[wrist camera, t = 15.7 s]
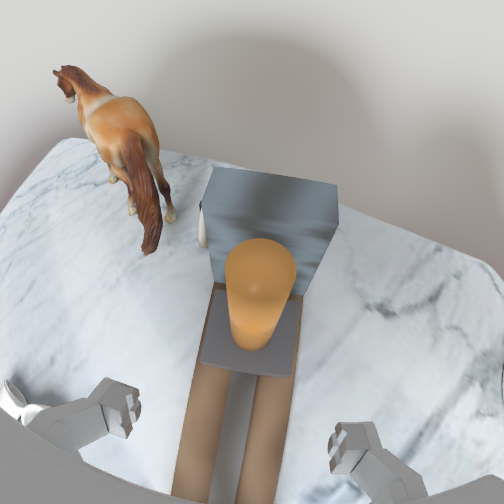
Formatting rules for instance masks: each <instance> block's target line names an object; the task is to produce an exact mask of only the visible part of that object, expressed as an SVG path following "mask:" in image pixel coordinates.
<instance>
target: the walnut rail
mask: <svg viewBox="0 0 504 504" xmlns="http://www.w3.org/2000/svg"><path fill="white" fill-rule="evenodd" d="M199 207H200V217H199V225H198V242H199V246H200V247H201V248H206V249H209V255H210V261H211V266H212V272H213V277H214V285H213V289H212V294H211V298H210V302H209V307H208V311H207V315H206V320H205V324H204V328H203V333H202V337H201V342H200V346H199V351H198V356H197V360H196V365H195V370H194V374H193V379H192V384H191V389H190V394H189V399H188V404H187V409H186V414H185V419H184V424H183V429H182V434H181V440H180V445H179V451H178V456H177V462H176V467H175V473H174V479H173V485H172V491H171V496H175V497H178V498H182V499H186V500H190V501H195V502H199V503H204V504H273V501H274V497H275V492H276V487H277V482H278V477H279V472H280V466H281V461H282V456H283V450H284V444H285V438H286V432H287V426H288V419H289V413H290V406H291V399H292V392H293V385H294V377H295V369H296V361H297V353H298V344H299V334H300V325H301V314H302V304H303V295H304V293H305V291H306V290H307V288H308V286H309V284H310V282H311V280H312V278H313V276H314V274H315V272H316V270H317V268H318V266H319V264H320V262H321V260H322V258H323V256H324V254H325V252H326V250H327V248H328V246H329V243H330V241H331V239H332V237H333V235H334V233H335V231H336V229H337V227H338V224H339V218H338V197H337V185H333V184H328V183H323V182H317V181H311V180H306V179H300V178H294V177H288V176H281V175H275V174H268V173H261V172H254V171H246V170H239V169H230V168H221V167H214V169H213V172H212V174H211V177H210V180H209V182H208V185H207V188H206V191H205V193H204V196H203V199H202V201H201V202H200V204H199ZM255 238H263V239H269V240H273V241H275V242H277V243H279V244H281V245H282V246H284V247H285V248H286V249H287V250H288V251H289V252H290V253H291V255H292V256H293V258H294V261H295V264H296V269H297V271H296V279H295V282H294V284H293V287H292V289H291V292H290V294H289V297H288V299H287V300H288V301H295V302H300V304H299V314H298V324H297V333H296V342H295V351H294V359H293V367H292V375H291V376H290V377H289V378H287V379H286V378H278V377H270V376H263V375H256V374H249V373H243V372H237V371H231V370H226V369H220V368H215V367H210V366H205V365H202V363H201V362H200V361H199V360H200V355H201V351H202V346H203V342H204V337H205V332H206V328H207V323H208V319H209V314H210V310H211V306H212V301H213V297H214V293H215V289H218V290H224V291H227V288H226V278H225V263H226V259H227V257H228V255H229V253H230V252H231V251H232V250H233V248H235V247H236V246H237V245H238V244H240V243H242V242H244V241H246V240H250V239H255Z"/></svg>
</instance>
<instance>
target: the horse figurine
mask: <svg viewBox="0 0 504 504" xmlns="http://www.w3.org/2000/svg"><path fill="white" fill-rule="evenodd" d="M61 68H62V69H61V71H59V72H57V71H55V70H54V71H53V74H54V75H56V76H57V77H59V78H58V83H57V85H58V86H59V87H60V88H61V89H62V90H63V91H64V94H65V101H66V102H68V103H73V102H75V94H77V97H78V101H79V102H78V118H79V122H80V124H81V125H82V126H83V130H84V132H85V133H86V134H87V136H88V138H89V139H90V141H92V142H93V143H94V144H96V147H97V150H98V152H99V154H100V155H101V157H102V159H103V161H104V162H106V163H107V164H108V166H109V169H110V177H109V182H110V183H116V182H117V177H118V178H119V179H121V180H122V181H123V182H124V183H125V184H126V185H127V187H128V193H129V197H128V200H127V204H128V211H129V215H130V216H131V215H133V214H135V213H136V212H137V213H138V217H139V220H140V222H141V223H142V224H143V226H144V230H145V233H144V240H143V243H142V246H141V248H142V252H144V255H145V256H147V255H149V254H151V253H153V252H155V250H156V249H157V247H158V243H159V240H160V235H161V231H162V226H163V221H162V214H161V208H160V201H159V194H158V191H157V188H156V186H155V182H154V178H153V175H154V177H155V178H156V181H157V183H158V187H159V190H160V192H161V194H162V195H163V196H164V198H165V201H166V204H167V213H166V215H165V221H166V222H168V223H172V222H174V221H176V219H177V216H176V210H175V208H174V207H173V205H172V202H171V197H170V186H169V184H168V183H167V181H166V180H165V178H164V177H163V171H162V166H161V163H160V160H159V140H158V136H157V133H156V130H155V128H154V125H153V122H152V120H151V118H150V117H149V115H148V113H147V112H146V110H145V109H144V108H143V107H142V106H141V104H140V103H139V102H138V101H137V100H135V99H134V98H131V97H117V96H114V95H113V94H112V93H111V92H110V91H109V90H108V89H107V88H105V87H103V86H101V85H100V84H98V83H96V82H95V81H94V80H92V79H91V78H90V77H89V76H88V75H87V74H86V73H85V72H84V71H83V70H82V69H80V68H78V67H76V66H70V65H67V66H61ZM151 172H152V173H151ZM152 174H153V175H152ZM135 203H136V205H135Z"/></svg>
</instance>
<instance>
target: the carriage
mask: <svg viewBox="0 0 504 504" xmlns="http://www.w3.org/2000/svg"><path fill="white" fill-rule="evenodd" d="M296 271H297V269H296V264H295V261H294V258H293V256H292V255H291V253H290V252H289V251H288V250H287V249H286V248H285V247H284V246H282V245H281V244H279V243H277V242H275V241H273V240H269V239H263V238H255V239H250V240H246V241H244V242H242V243H240V244H238V245H237V246H236V247H235V248H233V250H232V251H231V252H230V253H229V255H228V257H227V259H226V263H225V278H226V288H227V291H224V290H218V289H215V293H214V297H213V301H212V306H211V310H210V314H209V319H208V323H207V328H206V332H205V337H204V342H203V346H202V351H201V355H200V360H199V361H200V362H201V363H202V365H205V366H210V367H215V368H220V369H226V370H231V371H237V372H243V373H249V374H256V375H263V376H270V377H278V378H286V379H287V378H289V377H290V376H291V375H292V367H293V359H294V351H295V342H296V333H297V324H298V314H299V304H300V302H295V301H288V300H287V299H288V297H289V294H290V292H291V289H292V287H293V284H294V282H295V279H296Z"/></svg>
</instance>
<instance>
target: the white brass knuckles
mask: <svg viewBox="0 0 504 504" xmlns="http://www.w3.org/2000/svg"><path fill="white" fill-rule="evenodd" d="M0 407H1V408H2V409H3V410H5V411H6V412H7V413H8V414H10V415H11V416H12V417H14V418H15V419H16V420H18V419H19V417H20V415H21V421H22V424H23V425H24V426H27V425H28V424H29V423H30V422H31V421H32V420H33V418H34V417H35V416H36V415H37V414H38V413H39V412H40V411H41V410H44V409H48V408H51V406H46V405H40V404H29V405H28V403H27V402H26V400H25V398H24V396H23V395H22V393H21V392H20V391H19V389H18V388H17V387H16V386H15V385H14V384H13V383H12V382H10V381H9V380H6V381H4V382H3V384H2V388H1V390H0Z"/></svg>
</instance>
